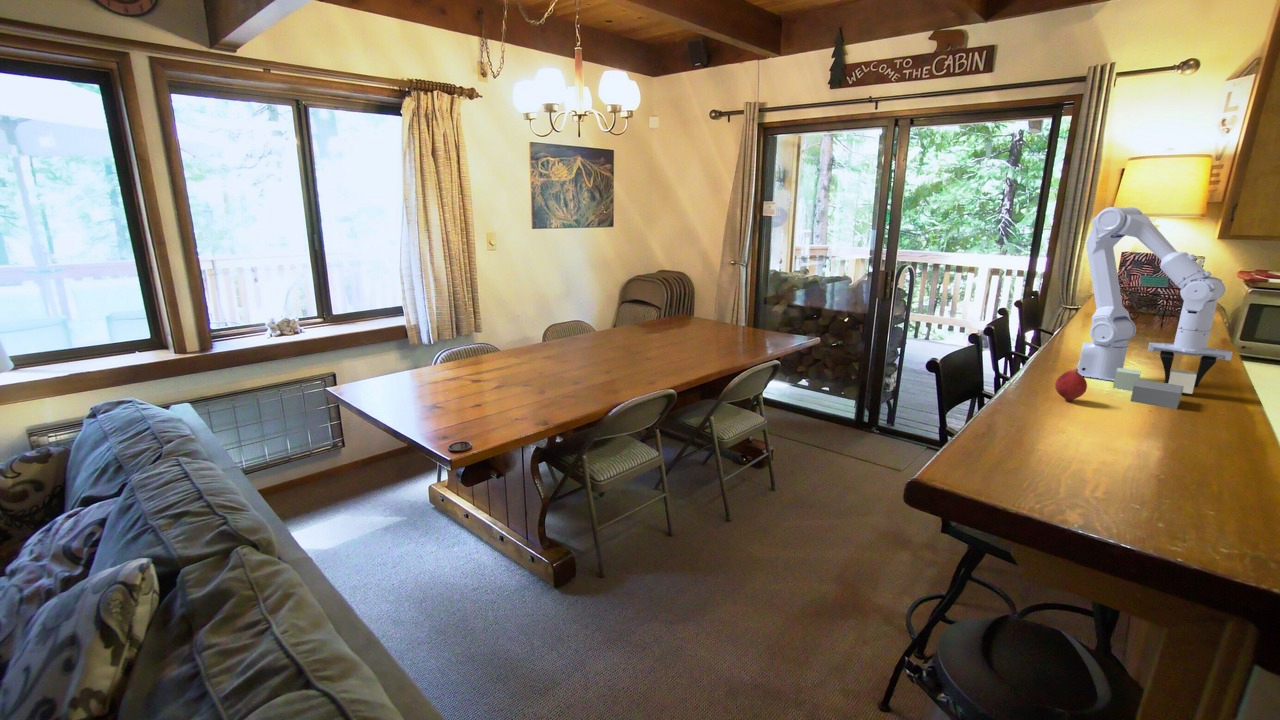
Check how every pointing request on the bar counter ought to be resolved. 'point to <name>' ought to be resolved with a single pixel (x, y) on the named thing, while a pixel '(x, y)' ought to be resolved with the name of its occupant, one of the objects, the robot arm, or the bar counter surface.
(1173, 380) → the cream block
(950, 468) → the bar counter surface
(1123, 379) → the sage block
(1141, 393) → the base block
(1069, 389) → the onion
